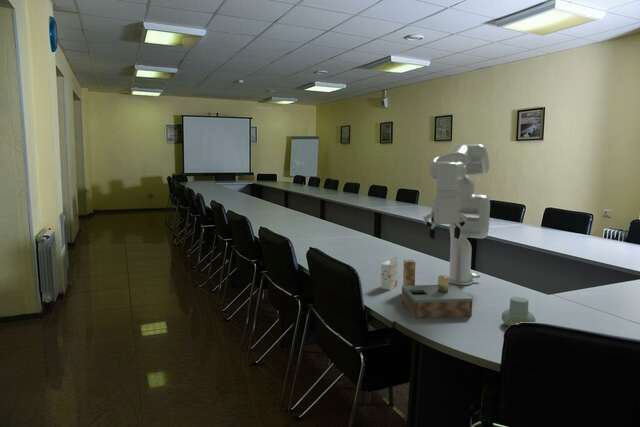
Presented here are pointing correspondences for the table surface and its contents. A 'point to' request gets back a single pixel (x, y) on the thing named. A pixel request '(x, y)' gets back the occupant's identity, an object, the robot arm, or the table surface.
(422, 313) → the toolbox
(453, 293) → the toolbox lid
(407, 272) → the key peg
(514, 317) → the air freshener
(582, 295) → the table surface
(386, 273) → the ink cartridge box
